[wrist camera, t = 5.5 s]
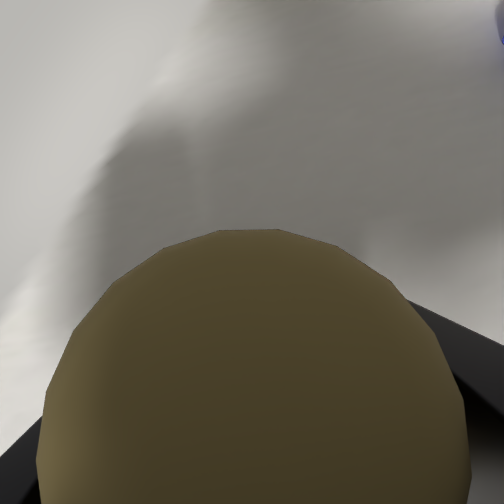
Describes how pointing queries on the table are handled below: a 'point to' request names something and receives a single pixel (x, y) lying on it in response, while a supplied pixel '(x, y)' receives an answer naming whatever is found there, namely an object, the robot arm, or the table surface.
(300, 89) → the table surface
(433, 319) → the robot arm
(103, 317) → the cork
